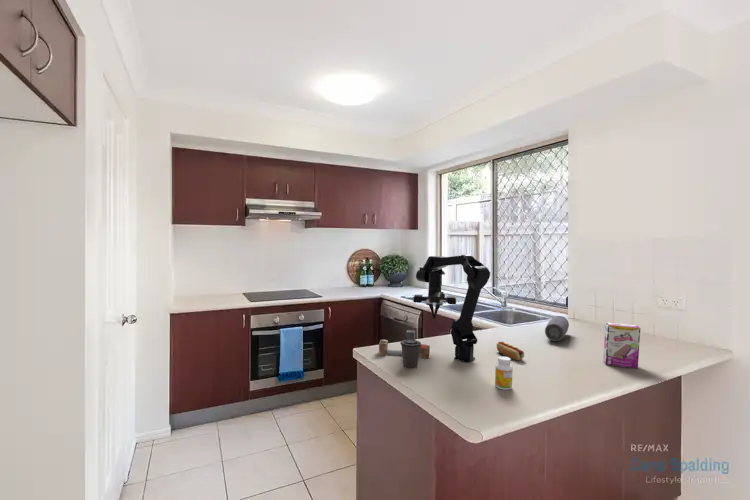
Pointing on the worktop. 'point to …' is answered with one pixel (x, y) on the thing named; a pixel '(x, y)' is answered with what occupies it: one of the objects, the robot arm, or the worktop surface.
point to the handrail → (394, 352)
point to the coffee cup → (410, 353)
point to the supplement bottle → (503, 373)
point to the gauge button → (424, 346)
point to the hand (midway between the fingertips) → (434, 318)
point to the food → (510, 351)
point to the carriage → (410, 334)
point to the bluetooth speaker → (557, 328)
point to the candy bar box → (621, 345)
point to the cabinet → (424, 352)
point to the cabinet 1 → (383, 347)
